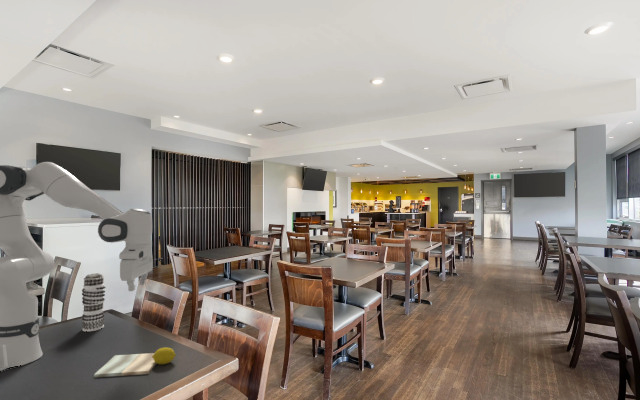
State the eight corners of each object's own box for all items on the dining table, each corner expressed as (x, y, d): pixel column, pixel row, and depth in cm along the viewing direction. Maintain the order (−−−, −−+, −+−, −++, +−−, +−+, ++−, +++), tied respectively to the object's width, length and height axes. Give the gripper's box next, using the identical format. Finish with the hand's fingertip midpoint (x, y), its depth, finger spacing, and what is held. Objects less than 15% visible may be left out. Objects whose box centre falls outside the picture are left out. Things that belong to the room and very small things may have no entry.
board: (94, 377, 108) (94, 374, 109) (115, 358, 122) (115, 355, 122) (148, 373, 111) (148, 370, 111) (162, 355, 125) (162, 352, 125)
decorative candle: (103, 323, 159) (104, 271, 160) (106, 328, 152) (106, 274, 153) (80, 327, 154) (81, 274, 154) (82, 333, 146) (82, 277, 147)
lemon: (148, 365, 114) (172, 363, 115) (150, 347, 116) (174, 346, 117) (153, 365, 119) (176, 363, 120) (155, 348, 121) (178, 347, 122)
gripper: (141, 247, 135) (140, 281, 135) (116, 255, 115) (115, 294, 114) (157, 247, 136) (156, 281, 135) (135, 255, 115) (134, 294, 115)
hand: (137, 287), depth 125 cm, fingers open, 8 cm apart
